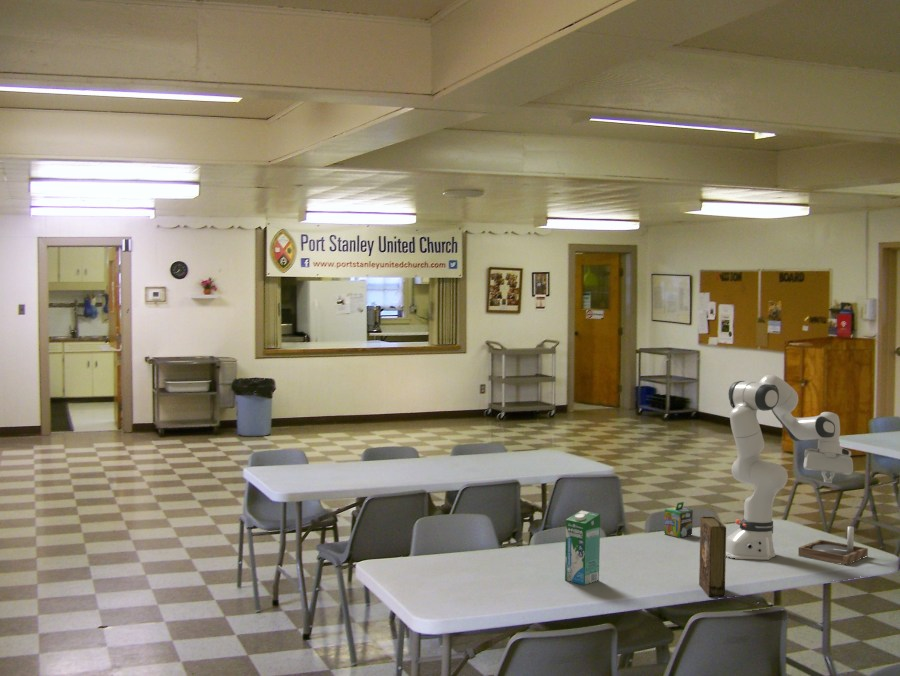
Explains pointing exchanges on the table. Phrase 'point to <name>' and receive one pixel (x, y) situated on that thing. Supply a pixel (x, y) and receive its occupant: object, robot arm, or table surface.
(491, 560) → the table surface
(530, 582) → the table surface
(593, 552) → the milk carton
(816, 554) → the dial housing
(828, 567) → the table surface
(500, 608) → the table surface
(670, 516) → the chalk box
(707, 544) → the book
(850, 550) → the dial
